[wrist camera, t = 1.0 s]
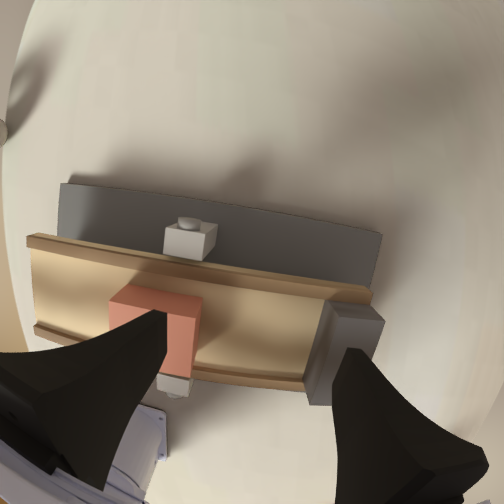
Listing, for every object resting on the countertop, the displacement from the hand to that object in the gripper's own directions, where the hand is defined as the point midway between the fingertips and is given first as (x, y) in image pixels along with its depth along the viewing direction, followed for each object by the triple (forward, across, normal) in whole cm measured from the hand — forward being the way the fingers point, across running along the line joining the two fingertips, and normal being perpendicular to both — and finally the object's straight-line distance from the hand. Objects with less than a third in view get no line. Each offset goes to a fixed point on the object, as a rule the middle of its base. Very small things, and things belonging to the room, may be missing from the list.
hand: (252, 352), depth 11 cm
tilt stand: (+12, +6, +4) cm, 13 cm away
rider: (+6, +6, +4) cm, 9 cm away
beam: (+6, +5, +4) cm, 9 cm away
